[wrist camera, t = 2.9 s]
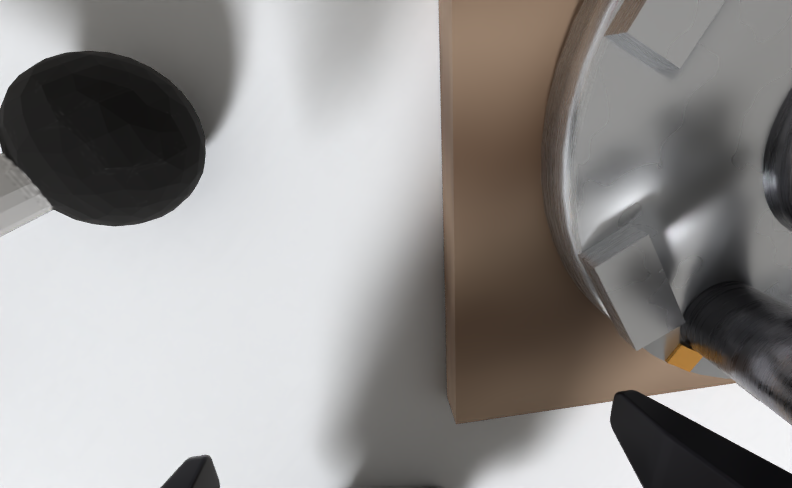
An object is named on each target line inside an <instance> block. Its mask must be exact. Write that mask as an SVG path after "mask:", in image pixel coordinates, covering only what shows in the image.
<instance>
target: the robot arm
mask: <svg viewBox="0 0 792 488" xmlns="http://www.w3.org/2000/svg"><path fill="white" fill-rule="evenodd" d="M610 423H611V427H612V429H613V431H614V433H615V435H616V437H617V439H618V441H619V443H620V445H621V447H622V448H623V450H624V452H625V454H626V456H627V458H628V460H629V462H630V464H631V465H632V467H633V469H634V471H635V473H636V475H637V477H638V479H639V481H640V483H641V484H642V486H643V488H792V474H791V473H789V472H787V471H785V470H784V469H782V468H780V467H778V466H776V465H774V464H772V463H770V462H769V461H767V460H765V459H763V458H761V457H759V456H757V455H756V454H754V453H752V452H750V451H748V450H746V449H744V448H742V447H741V446H739V445H737V444H735V443H733V442H731V441H729V440H728V439H726V438H724V437H722V436H720V435H718V434H716V433H714V432H713V431H711V430H709V429H707V428H705V427H703V426H701V425H700V424H698V423H696V422H694V421H692V420H690V419H688V418H686V417H685V416H683V415H681V414H679V413H677V412H675V411H673V410H672V409H670V408H668V407H666V406H664V405H662V404H660V403H659V402H657V401H655V400H653V399H651V398H649V397H647V396H645V395H644V394H642V393H640V392H638V391H636V390H626V391H619V392H616V394H615V395H614V399H613V405H612V410H611V416H610ZM161 488H220V483H219V479H218V476H217V473H216V470H215V467H214V464H213V461H212V459H211V457H210V456H209V455H201V456H195V457H190V458H188V459H187V460H186V461H185V462H184V463H183V464H182V465H181V466H180V467H179V468H178V469H177V470H176V471H175V472H174V474H173V475H172V476H171V477H170V478H169V479H168V480H167V481H166V482H165V483H164V485H163V486H162V487H161Z"/></svg>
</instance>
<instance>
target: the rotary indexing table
mask: <svg viewBox="0 0 792 488" xmlns="http://www.w3.org/2000/svg"><path fill="white" fill-rule="evenodd" d="M541 185H542V193H543V201H544V210H545V215H546V219H547V222H548V226H549V230H550V233H551V237H552V241H553V243H554V246H555V248H556V250H557V252H558V254H559V257H560V259H561V261H562V263H563V266H564V267H565V269H566V271H567V272H568V274H569V275H570V277H571V278H572V280H573V281H574V283H575V284H576V286H577V287H578V288H579V290H580V291H581V292H582V293H583V294H584V295H585V296H586V297H587V298H588V299H589V300H590V301H591V302H592V303H593V305H594V306H596V307H597V308H598V309H599V310H600V311H601V312H602V313H603V314H604V315H605V316H607V317H608V318H609V319H610V320H611V321H612V322H613V324H614V326H615V328H616V330H617V332H618V334H619V335H620V336H621V337H622V338H623V339H624V340H625V341H626V342H627V343H629V344H630V345H631V346H632V347H633V348H634V349H635V350H636V351H638V350H639V349H641V348H644V349H645V350H646V351H648V352H649V353H650V354H652V355H653V356H655V357H657V358H659V359H661V360H663V361H665V362H667V363H669V364H671V365H673V366H675V367H678V368H681V369H683V370H686V371H688V372H693V373H697V374H700V375H706V376H712V377H719V378H725V379H733V380H734V381H735V382H737V384H738V385H739V386H741V387H742V388H743V389H744V390H746V391H747V392H748V393H750V394H751V395H752V396H753V397H755V398H756V399H757V400H759V401H761V402H762V403H764V404H765V405H766V406H767V407H769V408H770V409H771V410H773V411H774V412H775V413H776V414H778V415H779V416H780V417H782V418H783V419H784V420H786V421H787V422H788V423H789V424H791V425H792V0H584V1H583V3H582V5H581V7H580V9H579V11H578V13H577V15H576V17H575V19H574V21H573V23H572V26H571V29H570V31H569V34H568V37H567V39H566V42H565V45H564V48H563V50H562V53H561V56H560V58H559V61H558V64H557V67H556V71H555V75H554V79H553V83H552V87H551V91H550V95H549V98H548V102H547V106H546V114H545V121H544V129H543V136H542V144H541Z"/></svg>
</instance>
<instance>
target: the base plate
mask: <svg viewBox="0 0 792 488" xmlns="http://www.w3.org/2000/svg"><path fill="white" fill-rule="evenodd" d="M583 1H584V0H439V41H440V89H441V137H442V184H443V232H444V280H445V328H446V375H447V398H448V401H449V404H450V407H451V410H452V413H453V416H454V419H455V422H456V424H460V423H467V422H474V421H481V420H488V419H494V418H501V417H508V416H515V415H522V414H528V413H535V412H542V411H549V410H555V409H562V408H569V407H576V406H583V405H589V404H596V403H603V402H610V401H613V399H614V395H615V394H616V392H619V391H626V390H636V391H638V392H640V393H642V394H644V395H645V396H650V395H657V394H664V393H671V392H677V391H684V390H691V389H698V388H705V387H711V386H718V385H725V384H732V383H737V382H735V381H734V380H733V379H725V378H719V377H712V376H706V375H700V374H697V373H693V372H688V371H686V370H683V369H681V368H678V367H675V366H673V365H671V364H669V363H667V362H665V361H663V360H661V359H659V358H657V357H655V356H653V355H652V354H650V353H649V352H648V351H646V350H645V349H644V348H641V349H639V350H638V351H636V350H635V349H634V348H633V347H632V346H631V345H630V344H629V343H627V342H626V341H625V340H624V339H623V338H622V337H621V336H620V335H619V334H618V332H617V330H616V328H615V326H614V324H613V322H612V321H611V320H610V319H609V318H608V317H607V316H605V315H604V314H603V313H602V312H601V311H600V310H599V309H598V308H597V307H596V306H594V305H593V303H592V302H591V301H590V300H589V299H588V298H587V297H586V296H585V295H584V294H583V293H582V292H581V291H580V290H579V288H578V287H577V286H576V284H575V283H574V281H573V280H572V278H571V277H570V275H569V274H568V272H567V271H566V269H565V267H564V266H563V263H562V261H561V259H560V257H559V254H558V252H557V250H556V248H555V246H554V243H553V241H552V237H551V233H550V230H549V226H548V222H547V219H546V215H545V210H544V201H543V193H542V185H541V144H542V136H543V129H544V121H545V114H546V106H547V102H548V98H549V95H550V91H551V87H552V83H553V79H554V75H555V71H556V67H557V64H558V61H559V58H560V56H561V53H562V50H563V48H564V45H565V42H566V39H567V37H568V34H569V31H570V29H571V26H572V23H573V21H574V19H575V17H576V15H577V13H578V11H579V9H580V7H581V5H582V3H583Z"/></svg>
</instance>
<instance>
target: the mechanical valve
mask: <svg viewBox="0 0 792 488" xmlns="http://www.w3.org/2000/svg"><path fill="white" fill-rule="evenodd" d="M0 144H1V148H2V152H3V153H2V154H0V237H1V236H3V235H5V234H7V233H9V232H11V231H13V230H15V229H17V228H19V227H21V226H22V225H24V224H26V223H28V222H30V221H32V220H34V219H36V218H38V217H40V216H42V215H44V214H46V213H48V212H50V211H52V210H56V211H58V212H60V213H62V214H64V215H67V216H69V217H71V218H73V219H75V220H79V221H83V222H87V223H91V224H98V225H107V226H124V225H134V224H139V223H144V222H147V221H150V220H153V219H156V218H160V217H162V216H164V215H166V214H167V213H169V212H171V211H173V210H174V209H175V208H176V207H178V206H179V205H180V204H181V203H182V202H183V201H184V200H185V199H187V198H188V197H189V196H190V194H191V193H192V192H193V190H194V189H195V187H196V186H197V184H198V182H199V180H200V178H201V176H202V174H203V169H204V164H205V155H206V152H205V136H204V132H203V129H202V126H201V123H200V120H199V118H198V116H197V114H196V112H195V110H194V108H193V107H192V105H191V104H190V102H189V101H188V100H187V98H186V97H185V96H184V95H183V93H182V92H181V91H180V90H179V89H178V88H177V87H176V86H175V85H174V84H173V83H171V82H170V81H169V80H168V79H167V78H165V77H164V76H163V75H161V74H160V73H158V72H157V71H155V70H154V69H152V68H151V67H148V66H146V65H144V64H142V63H140V62H138V61H135V60H133V59H131V58H128V57H124V56H120V55H116V54H113V53H108V52H95V51H82V52H68V53H63V54H60V55H56V56H53V57H50V58H46V59H44V60H42V61H40V62H39V63H37V64H35V65H34V66H32V67H31V68H29V69H28V70H26V71H25V72H23V73H22V74H20V75H19V76H18V77H17V78H16V80H15V81H14V82H13V83H12V84H11V85H10V86H9V88H8V90H7V93H6V95H5V98H4V100H3V103H2V105H1V108H0Z"/></svg>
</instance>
